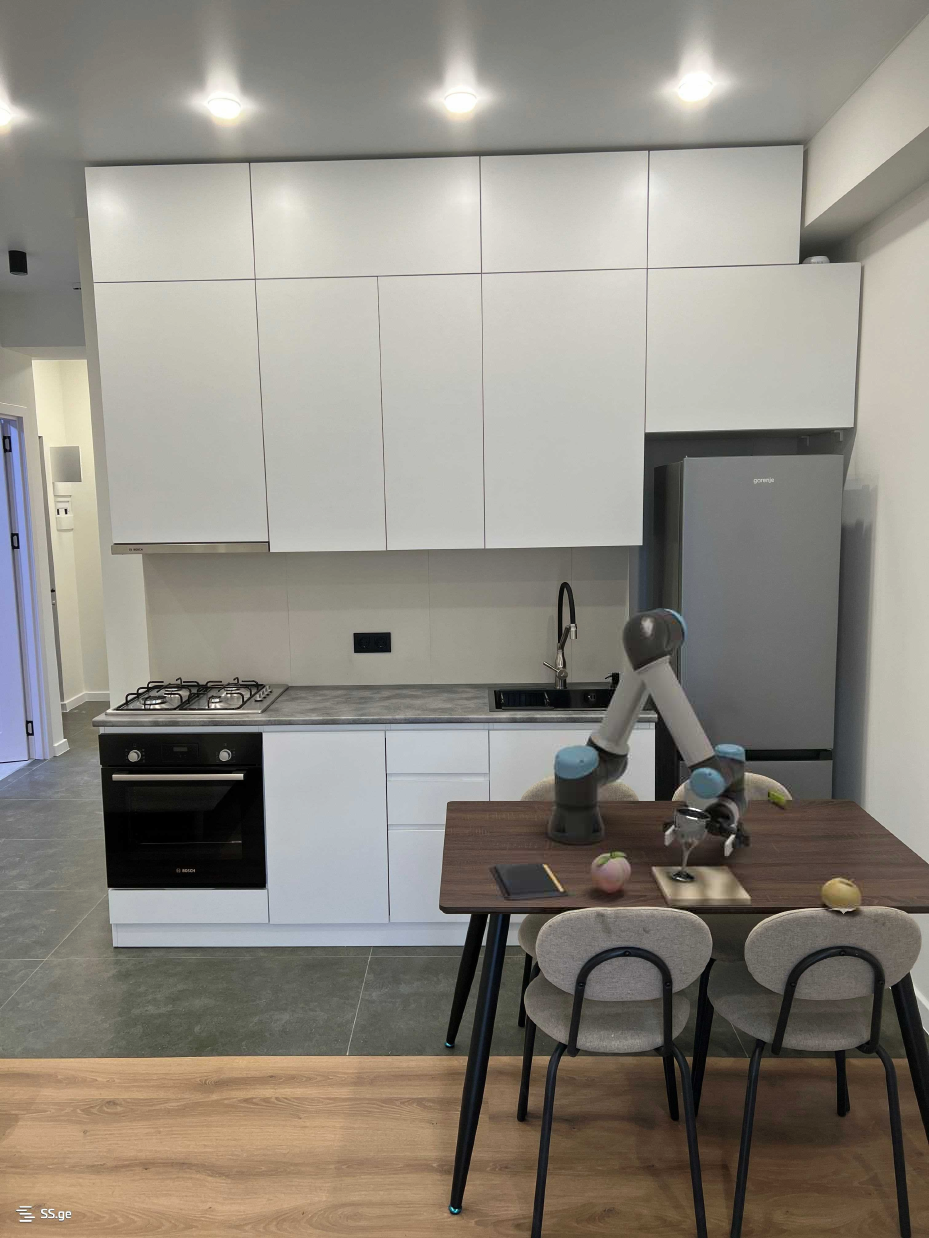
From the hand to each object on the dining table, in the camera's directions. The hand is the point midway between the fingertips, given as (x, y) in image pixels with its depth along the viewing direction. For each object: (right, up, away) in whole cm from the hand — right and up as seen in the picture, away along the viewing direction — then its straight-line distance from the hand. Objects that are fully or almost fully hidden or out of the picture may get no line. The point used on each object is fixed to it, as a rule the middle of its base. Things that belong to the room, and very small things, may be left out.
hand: (695, 844), depth 196 cm
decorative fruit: (-19, -12, +2) cm, 23 cm away
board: (+2, -11, +4) cm, 12 cm away
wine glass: (-1, -9, +7) cm, 11 cm away
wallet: (-37, -12, +9) cm, 40 cm away
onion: (+30, -12, -7) cm, 33 cm away
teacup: (+18, -5, +61) cm, 63 cm away
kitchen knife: (+40, -4, +69) cm, 79 cm away
